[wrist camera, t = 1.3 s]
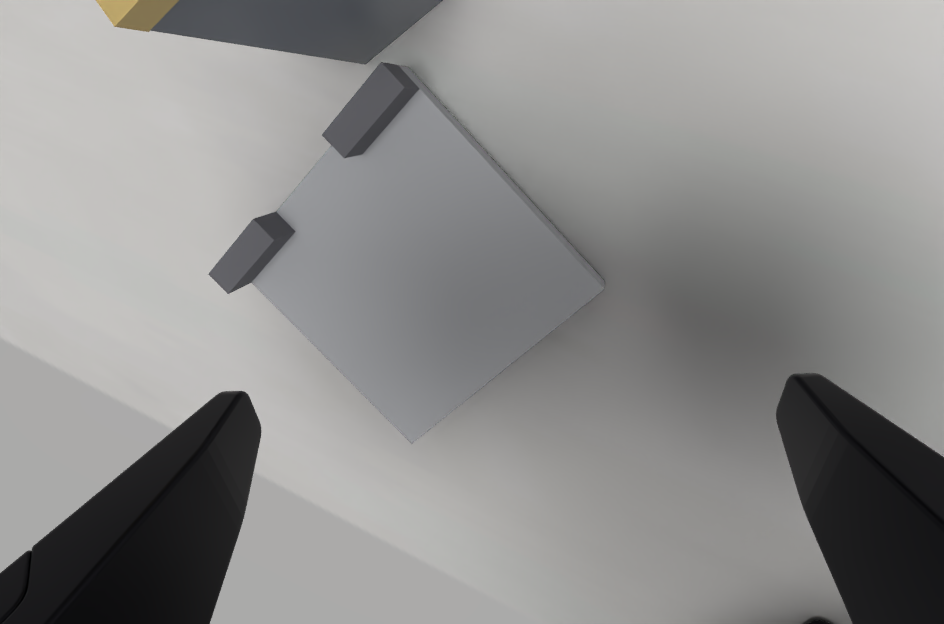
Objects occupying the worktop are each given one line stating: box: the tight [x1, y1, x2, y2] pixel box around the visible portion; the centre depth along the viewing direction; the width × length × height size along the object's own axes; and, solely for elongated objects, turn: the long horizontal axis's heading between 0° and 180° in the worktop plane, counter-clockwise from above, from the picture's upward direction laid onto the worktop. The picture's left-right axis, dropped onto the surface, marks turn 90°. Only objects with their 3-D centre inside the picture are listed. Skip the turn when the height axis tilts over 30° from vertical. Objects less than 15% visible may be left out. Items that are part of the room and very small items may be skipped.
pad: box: [209, 62, 605, 444], centre depth 21 cm, size 10×10×2 cm
